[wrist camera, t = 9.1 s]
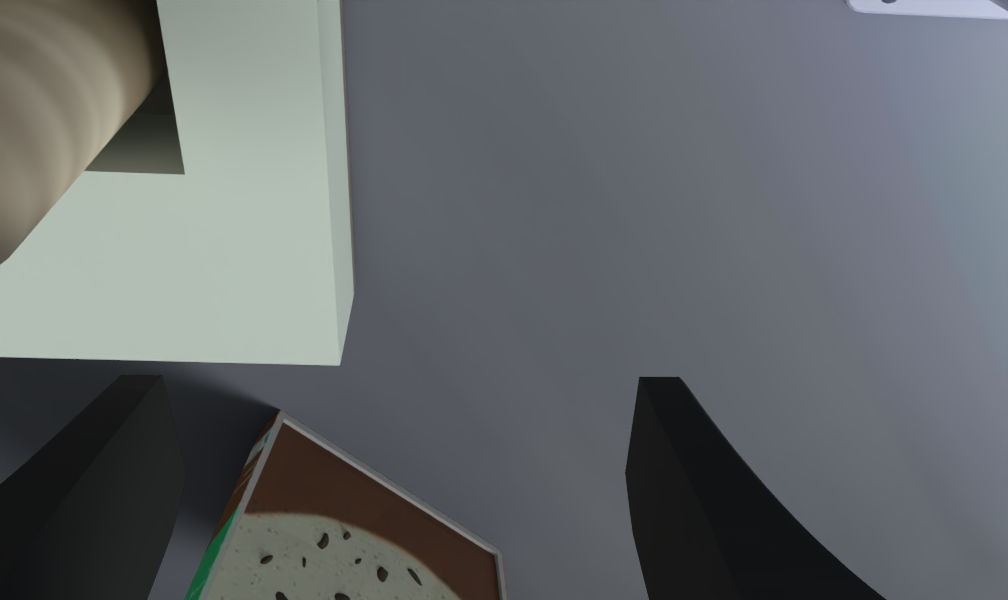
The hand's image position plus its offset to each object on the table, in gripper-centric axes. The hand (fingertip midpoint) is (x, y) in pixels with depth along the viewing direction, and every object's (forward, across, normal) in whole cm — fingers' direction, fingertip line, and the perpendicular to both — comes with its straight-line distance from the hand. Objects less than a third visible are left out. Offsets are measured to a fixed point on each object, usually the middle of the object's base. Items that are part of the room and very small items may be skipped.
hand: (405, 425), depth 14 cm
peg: (+9, +7, -3) cm, 12 cm away
